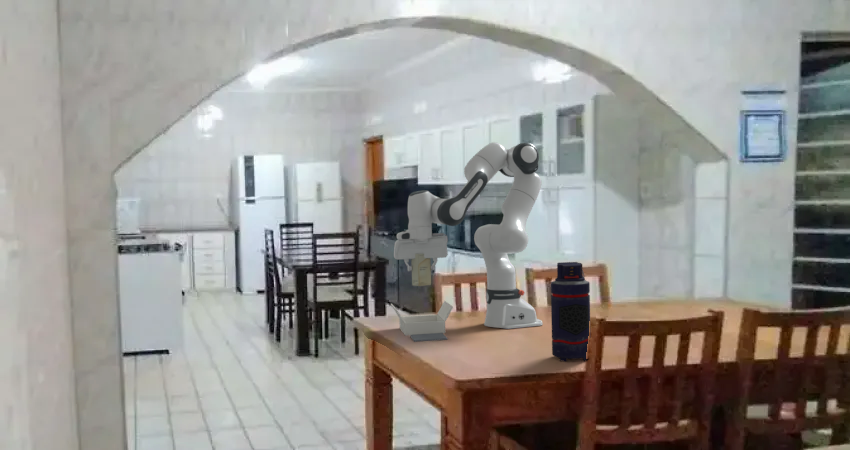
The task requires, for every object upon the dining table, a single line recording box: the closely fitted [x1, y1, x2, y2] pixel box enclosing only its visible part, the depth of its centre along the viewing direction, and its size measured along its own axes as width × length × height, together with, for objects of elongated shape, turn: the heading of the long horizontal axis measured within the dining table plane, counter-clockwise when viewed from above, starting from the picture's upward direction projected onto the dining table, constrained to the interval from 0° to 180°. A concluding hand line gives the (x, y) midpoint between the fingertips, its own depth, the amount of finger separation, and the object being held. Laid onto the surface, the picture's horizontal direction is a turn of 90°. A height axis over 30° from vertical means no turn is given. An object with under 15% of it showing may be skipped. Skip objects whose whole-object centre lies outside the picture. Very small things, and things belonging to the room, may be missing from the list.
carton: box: [390, 300, 454, 336], centre depth 304 cm, size 22×15×10 cm
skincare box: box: [410, 254, 432, 287], centre depth 301 cm, size 6×4×12 cm
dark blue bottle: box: [550, 261, 591, 363], centre depth 251 cm, size 14×12×30 cm
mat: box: [409, 333, 448, 343], centre depth 290 cm, size 12×10×1 cm
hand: (421, 270), depth 301 cm, fingers closed on skincare box, 7 cm apart
